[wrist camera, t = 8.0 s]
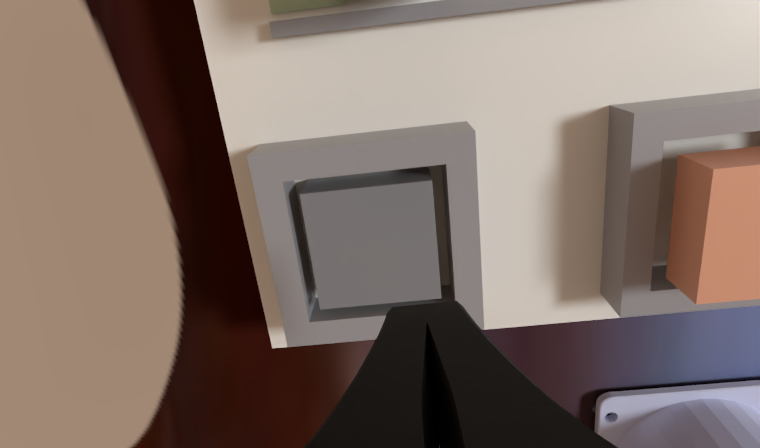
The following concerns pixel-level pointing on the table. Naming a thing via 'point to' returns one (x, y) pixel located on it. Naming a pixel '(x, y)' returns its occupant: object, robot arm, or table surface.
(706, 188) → the terracotta button
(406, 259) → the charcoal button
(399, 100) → the control panel
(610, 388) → the table surface
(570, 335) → the table surface
